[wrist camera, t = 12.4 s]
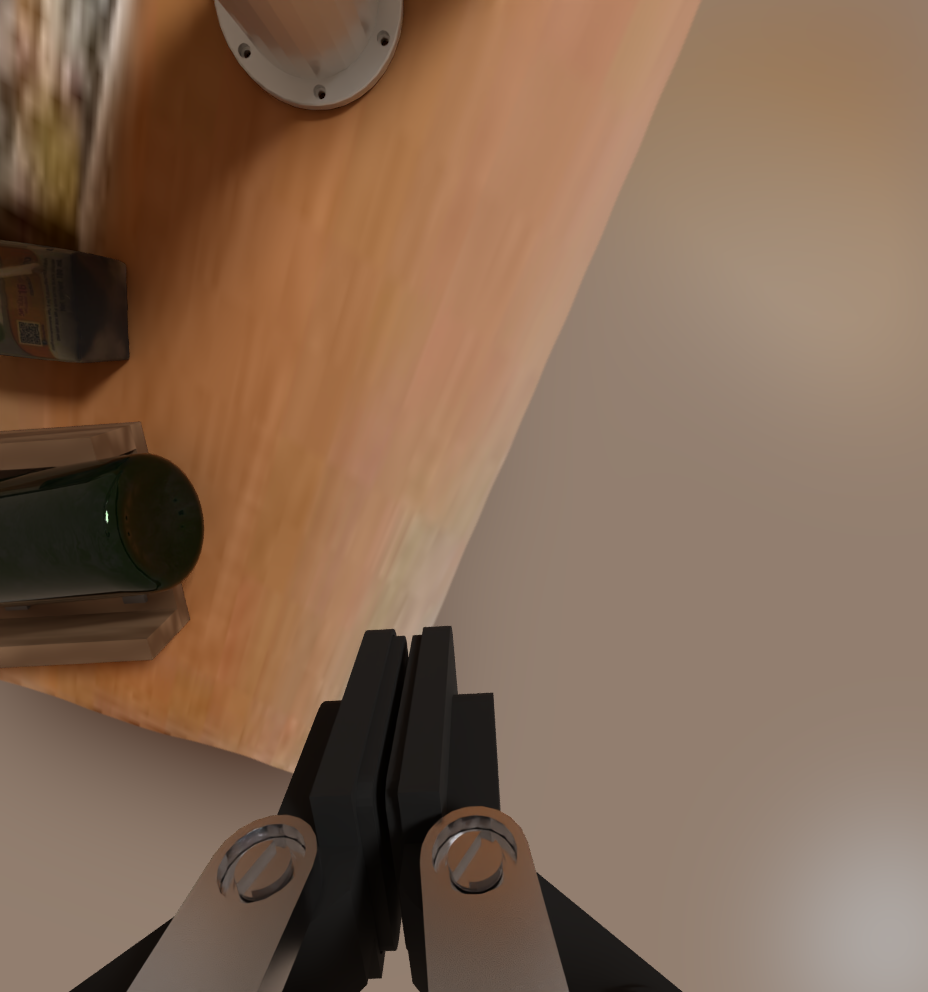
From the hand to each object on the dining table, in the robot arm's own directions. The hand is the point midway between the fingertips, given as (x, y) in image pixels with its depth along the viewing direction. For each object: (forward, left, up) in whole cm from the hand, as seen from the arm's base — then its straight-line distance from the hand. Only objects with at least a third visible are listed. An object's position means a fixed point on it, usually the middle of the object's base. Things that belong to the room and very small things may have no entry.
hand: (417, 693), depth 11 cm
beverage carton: (-11, -35, -38) cm, 52 cm away
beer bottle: (+6, -22, -29) cm, 37 cm away
